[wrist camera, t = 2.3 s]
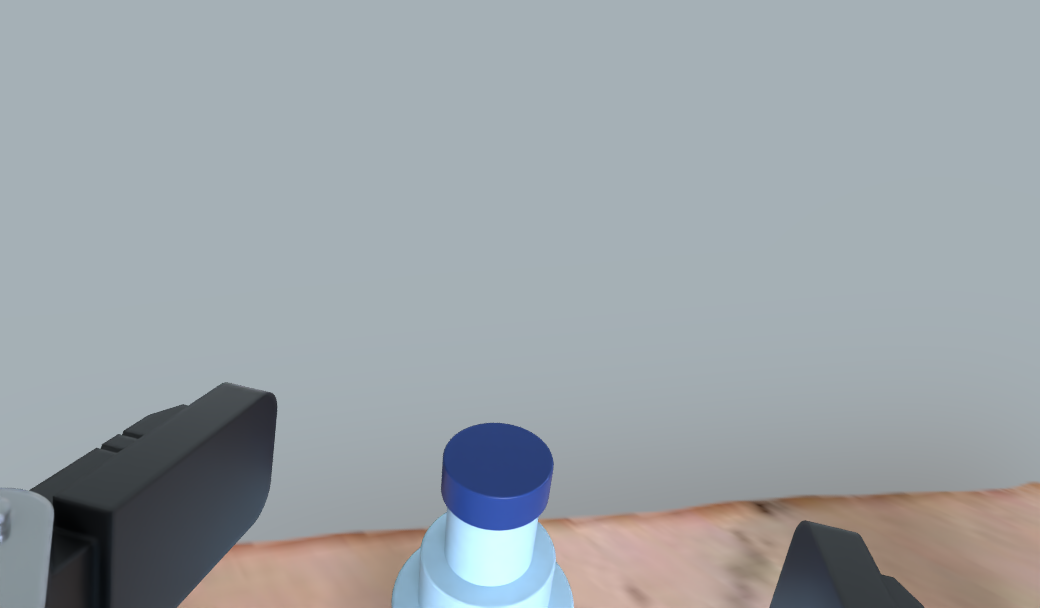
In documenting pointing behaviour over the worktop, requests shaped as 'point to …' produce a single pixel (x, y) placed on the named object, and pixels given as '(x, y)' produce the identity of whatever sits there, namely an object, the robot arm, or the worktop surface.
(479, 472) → the bottle
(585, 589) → the worktop surface
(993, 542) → the worktop surface
